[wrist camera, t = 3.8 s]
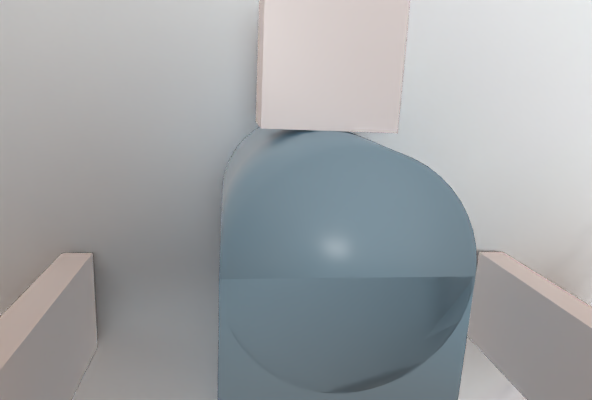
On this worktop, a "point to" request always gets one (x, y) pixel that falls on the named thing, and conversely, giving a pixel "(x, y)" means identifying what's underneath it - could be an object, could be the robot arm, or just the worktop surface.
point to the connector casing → (338, 224)
